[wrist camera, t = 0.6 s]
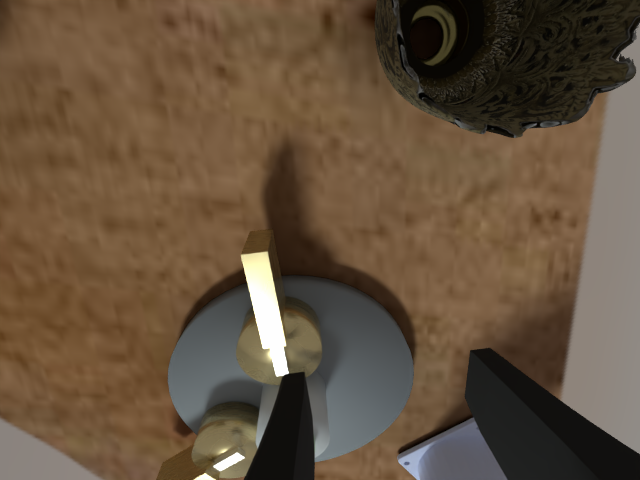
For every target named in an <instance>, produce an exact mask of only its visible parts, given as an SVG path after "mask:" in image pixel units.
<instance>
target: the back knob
mask: <svg viewBox="0 0 640 480" xmlns="http://www.w3.org/2000/svg"><path fill="white" fill-rule="evenodd" d="M258 418H259V409H258V408H256V407H254V406H252V405H249V404H246V403H241V402H227V403H222V404H219V405H216V406H214V407H212V408H211V409H209V410H208V411H207V412H206V413H205V414H204V416H203V418H202V421H201V424H200V428H199V431H198V434H197V437H196V440H195V443H194V444H193V445H192V446H190V447H188V448H187V449H185V450H183V451H182V452H180V453H178V454H177V455H175V456H173V457H171V458H170V459H168V460H166V461H165V462H163V463H162V466H161V469H160V471H159V474H158V476H157V479H156V480H219V477H220V478H238V477H243V476H246V474H247V472H248V469H249V467H250V465H251V463H252V460H253V458H254V456H255V454H256V451H257V449H258V448H257V446H256V433H257V425H258Z"/></svg>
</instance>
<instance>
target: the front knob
mask: <svg viewBox="0 0 640 480" xmlns="http://www.w3.org/2000/svg"><path fill="white" fill-rule="evenodd" d="M241 258H242V262H243V266H244V270H245V275H246V279H247V283H248V287H249V291H250V295H251V300H252V304H253V306H252V307H251V308H250V309H249V311H248V312H247V314H246V315H245V318H244V321H243V325H242V328H241V332H240V336H239V340H238V343H237V348H236V357H237V361H238V364H239V365H240V367H241V368H242V370H243V371H244V372H245V373H246V374H247V375H248V376H250V377H251V378H253V379H255V380H257V381H259V382H262V383H265V384H270V385H280V383H281V379H282V377H283V376H284V375H285V374H290V373H298V372H305V377H306V378H307V377H308V376H310V375H311V374H312V373H313V372H314V371H315V370H316V369H317V367H318V366H319V364H320V361H321V358H322V343H321V332H320V322H319V318H318V316H317V314H316V312H315V311H314V310H313V308H312V307H310V306H309V305H308V304H307V303H305V302H304V301H302V300H300V299H297V298H294V297H289V296H285V293H284V287H283V282H282V277H281V271H280V266H279V260H278V255H277V250H276V244H275V239H274V233H273V229H266V230H258V231H250V233H249V236H248V238H247V241H246V243H245V246H244V248H243V251H242V253H241Z"/></svg>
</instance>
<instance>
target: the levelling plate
mask: <svg viewBox="0 0 640 480" xmlns="http://www.w3.org/2000/svg"><path fill="white" fill-rule="evenodd" d="M281 277H282V282H283V287H284V293H285V296H289V297H294V298H297V299H300V300H302V301H304V302H305V303H307V304H308V305H309V306H310V307H312V308H313V310H314V311H315V312H316V314H317V316H318V318H319V322H320V332H321V343H322V358H321V361H320V364H319V366H318V367H317V369H316V370H315V371H314V372H313V373H312V374H311V375H310V376H308V377H307V378H306V382H307V388H308V394H309V399H310V405H311V411H312V417H313V432H314V449H315V462H318V461H323V460H327V459H331V458H335V457H338V456H341V455H344V454H346V453H349V452H351V451H353V450H355V449H358V448H360V447H362V446H363V445H365V444H367V443H368V442H370V441H372V440H373V439H374V438H376V437H377V436H379V435H380V434H381V433H382V432H384V431H385V430H386V429H387V428H388V427H389V426H390V425H391V424H392V423H393V422H394V420H395V419H396V418H397V417H398V416H399V414H400V413H401V411H402V410H403V408H404V406H405V404H406V402H407V400H408V398H409V396H410V392H411V389H412V385H413V376H414V370H413V360H412V356H411V352H410V349H409V347H408V345H407V343H406V340H405V338H404V336H403V334H402V331H401V329H400V327H399V326H398V324H397V323H396V321H395V320H394V318H393V317H392V315H391V314H390V313H389V312H388V311H387V310H386V309H385V308H384V307H383V306H382V305H381V304H379V303H378V302H377V301H376V300H374V299H373V298H372V297H370V296H368V295H367V294H365V293H363V292H362V291H360V290H358V289H356V288H353V287H351V286H349V285H346V284H344V283H341V282H337V281H334V280H330V279H326V278H320V277H314V276H300V275H288V276H281ZM252 306H253V304H252V300H251V295H250V291H249V287H248V283H245V284H242V285H239V286H237V287H235V288H233V289H230V290H228V291H226V292H224V293H223V294H221V295H219V296H218V297H216V298H214V299H213V300H211V301H210V302H209V303H208V304H207V305H205V306H204V307H203V308H202V309H200V311H199V312H198V313H197V314H196V315H195V316H194V317H193V318H192V319H191V321H190V322H189V324H188V325H187V327H186V328H185V330H184V331H183V333H182V335H181V337H180V339H179V341H178V343H177V345H176V347H175V349H174V352H173V354H172V356H171V360H170V365H169V369H168V385H169V392H170V395H171V398H172V401H173V404H174V406H175V408H176V410H177V412H178V414H179V415H180V417H181V418H182V419H183V421H184V422H185V423H186V425H187V426H188V427H189V428H190V429H191V430H192V431H193V432H194V433H195V434H198V431H199V428H200V424H201V421H202V418H203V416H204V414H205V413H206V412H207V411H208V410H209V409H211V408H212V407H214V406H216V405H219V404H222V403H227V402H241V403H246V404H249V405H252V406H254V407H256V408H258V409H259V418H258V425H257V433H256V446H257V448H258V446H259V444H260V441H261V439H262V436H263V434H264V431H265V428H266V426H267V423H268V421H269V418H270V415H271V412H272V409H273V407H274V404H275V401H276V397H277V394H278V391H279V387H280V385H270V384H265V383H262V382H259V381H257V380H255V379H253V378H251V377H250V376H248V375H247V374H246V373H245V372H244V371H243V370H242V368H241V367H240V365H239V364H238V361H237V357H236V348H237V343H238V340H239V336H240V332H241V328H242V325H243V321H244V318H245V315H246V314H247V312H248V311H249V309H250V308H251V307H252Z"/></svg>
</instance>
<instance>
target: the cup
mask: <svg viewBox="0 0 640 480" xmlns="http://www.w3.org/2000/svg"><path fill="white" fill-rule="evenodd" d="M424 18H430V19H433V20H435V21H436V22H437V23H438V24H439V25H440V27H441V30H442V42H441V45H440V48H439V49H438V51H437V52H436V53H435V54H434V55H433V56H431V57H430V58H427V59H419V58H417V56H416V55H415V54H414V52H413V50H412V47H411V43H410V31H411V29H412V27H413V26H414V24H415V23H416V22H418V21H419V20H421V19H424ZM639 23H640V0H377V5H376V13H375V40H376V46H377V51H378V55H379V59H380V62H381V65H382V67H383V70H384V72H385V74H386V76H387V78H388V80H389V81H390V83H391V84H392V86H393V87H394V88H395V89H396V91H397V92H398V93H399V94H400V95H401V96H402V97H403V98H404V99H406V100H407V101H408V102H410V103H411V104H412V105H414V106H415V107H417V108H419V109H421V110H423V111H425V112H426V113H428V114H431V115H433V116H435V117H438V118H440V119H443V120H445V121H448V122H451V123H453V124H454V125H455V124H456V125H457V126H458V127H460V128H462V129H465V130H468V131H472V132H475V133H480V134H484V133H485V132H486V131H488V132H493V133H497V134H501V135H504V136H507V137H511V138H517V137H521V136H523V134H522V133H523V132H524V131H525V130H526V129H528V128H546V127H554V126H559V125H564V124H569V123H572V122H575V121H577V120H579V119H580V118H582V117H583V116H584V115H585V114H586V113H587V111H588V110H589V108H590V106H591V105H592V103H593V100H594V98H595V96H596V95H597V93H603V92H607V91H611V90H614V89H616V88H618V87H620V86H621V85H623V84H625V83H626V82H628V81H630V80H631V79H632V78H633V77H634V76H635V74H636V67H635V66H634V63H633V60H632V61H631V60H630V59H629V58H626V59H625V58H624V56H622V57H621V54H620V52H621V51H622V50H623V49H624V48H626V47H627V46H628V45H630V44H631V43H633V41H634V40H635V39H636V31H635V29H636V28H637V26H638V25H639ZM634 31H635V33H634ZM619 54H620V57H619V61H617V60H616V59H617V57H618V55H619Z"/></svg>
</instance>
